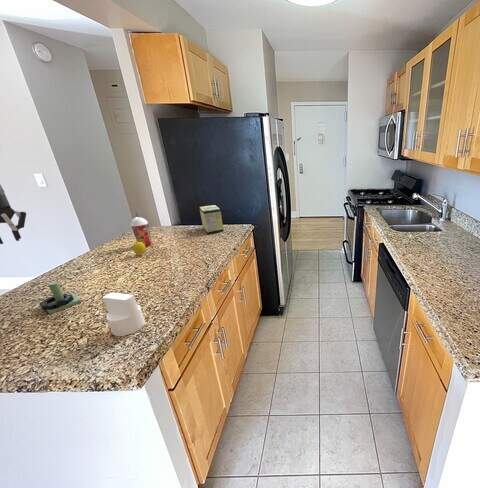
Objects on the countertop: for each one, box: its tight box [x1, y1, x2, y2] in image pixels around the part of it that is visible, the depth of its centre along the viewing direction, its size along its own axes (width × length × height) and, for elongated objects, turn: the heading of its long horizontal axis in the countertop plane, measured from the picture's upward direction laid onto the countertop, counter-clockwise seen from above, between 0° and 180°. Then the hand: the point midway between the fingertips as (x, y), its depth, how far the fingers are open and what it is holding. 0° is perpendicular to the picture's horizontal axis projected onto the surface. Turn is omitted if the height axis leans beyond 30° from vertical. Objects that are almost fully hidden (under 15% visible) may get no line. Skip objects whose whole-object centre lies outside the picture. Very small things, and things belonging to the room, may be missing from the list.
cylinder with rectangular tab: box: [102, 292, 146, 337], centre depth 84 cm, size 9×9×12 cm
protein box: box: [198, 204, 225, 235], centre depth 176 cm, size 10×16×16 cm
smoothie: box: [129, 212, 153, 248], centre depth 149 cm, size 8×8×20 cm
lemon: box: [132, 240, 147, 256], centre depth 139 cm, size 6×6×8 cm
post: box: [45, 281, 82, 315], centre depth 97 cm, size 9×9×9 cm
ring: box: [39, 292, 74, 311], centre depth 97 cm, size 8×8×2 cm
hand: (9, 241), depth 93 cm, fingers open, 3 cm apart
